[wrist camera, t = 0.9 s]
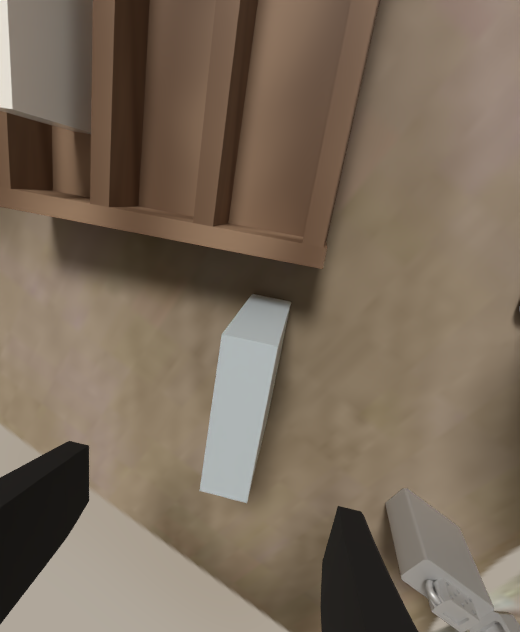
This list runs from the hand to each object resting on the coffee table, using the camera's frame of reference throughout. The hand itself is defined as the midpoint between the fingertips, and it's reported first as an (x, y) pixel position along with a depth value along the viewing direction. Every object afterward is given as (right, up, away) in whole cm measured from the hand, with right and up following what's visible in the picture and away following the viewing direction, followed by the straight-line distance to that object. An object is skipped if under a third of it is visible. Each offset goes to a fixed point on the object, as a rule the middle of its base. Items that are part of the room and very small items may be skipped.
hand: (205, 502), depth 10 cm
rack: (-1, +16, +5) cm, 17 cm away
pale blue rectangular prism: (+2, +3, +9) cm, 10 cm away
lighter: (+12, -7, +11) cm, 18 cm away
